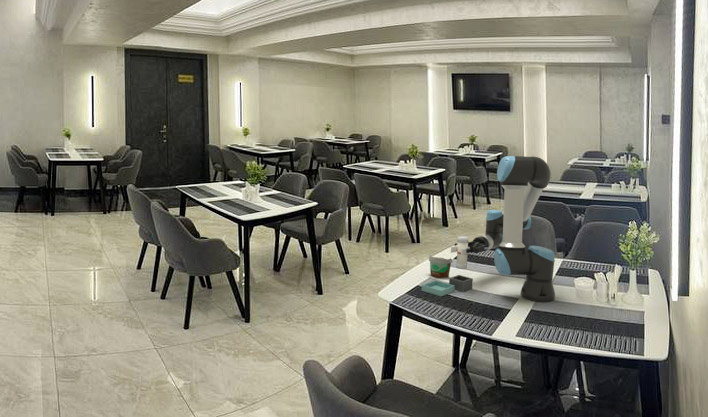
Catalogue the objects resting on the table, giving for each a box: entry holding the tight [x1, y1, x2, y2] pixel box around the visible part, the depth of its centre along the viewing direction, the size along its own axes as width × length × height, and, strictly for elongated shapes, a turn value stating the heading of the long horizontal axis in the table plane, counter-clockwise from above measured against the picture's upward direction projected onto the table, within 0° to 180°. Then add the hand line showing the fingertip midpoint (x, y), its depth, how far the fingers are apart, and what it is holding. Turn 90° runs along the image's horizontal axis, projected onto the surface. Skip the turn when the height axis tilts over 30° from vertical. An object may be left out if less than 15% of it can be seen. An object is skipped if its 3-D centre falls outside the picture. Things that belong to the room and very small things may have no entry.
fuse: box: [455, 235, 469, 270], centre depth 277 cm, size 5×5×15 cm
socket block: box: [448, 274, 474, 293], centre depth 280 cm, size 8×8×5 cm
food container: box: [428, 254, 453, 279], centre depth 296 cm, size 12×6×10 cm, turn 62°
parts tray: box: [421, 279, 456, 297], centre depth 275 cm, size 11×11×3 cm
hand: (456, 250), depth 273 cm, fingers closed on fuse, 5 cm apart
